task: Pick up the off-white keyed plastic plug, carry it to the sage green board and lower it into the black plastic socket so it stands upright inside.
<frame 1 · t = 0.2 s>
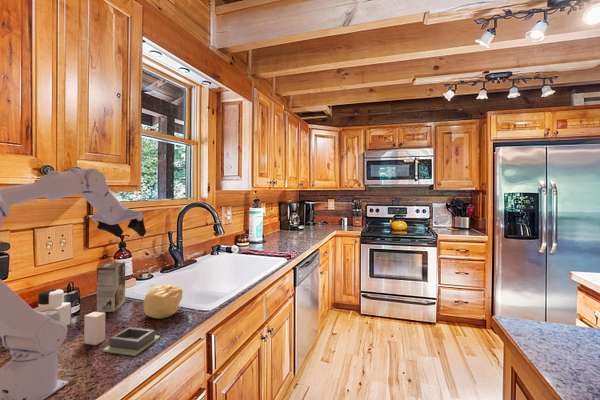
hand: (132, 234, 89), 31 cm above the counter, tool tilted 45°, fingers open, 7 cm apart
energy drink: (46, 359, 75), on the counter
keyed plug: (93, 341, 84), on the counter
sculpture: (162, 315, 103), on the counter
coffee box: (111, 307, 109), on the counter
white stepped block: (51, 329, 91), on the counter
socket board: (132, 344, 83), on the counter
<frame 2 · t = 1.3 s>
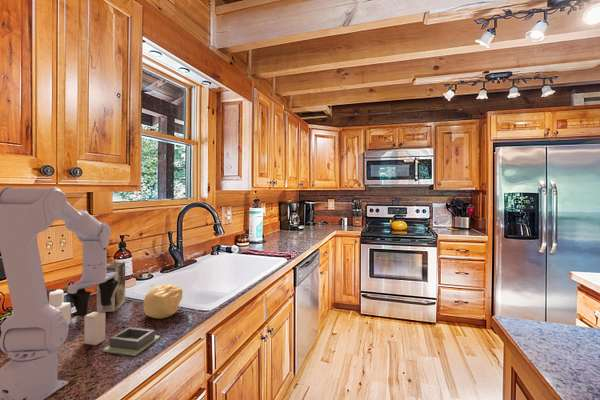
hand: (94, 310, 84), 9 cm above the counter, tool pointing down, fingers open, 7 cm apart
nothing on the counter moved.
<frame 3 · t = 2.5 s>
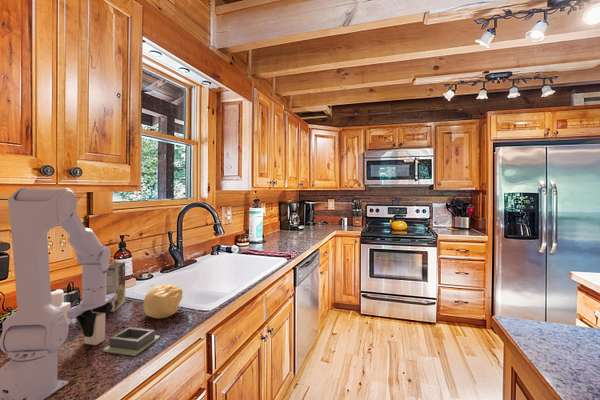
hand: (94, 333, 84), 2 cm above the counter, tool pointing down, fingers closed on keyed plug, 3 cm apart
keyed plug: (93, 341, 84), on the counter, touching gripper
everything else where it was.
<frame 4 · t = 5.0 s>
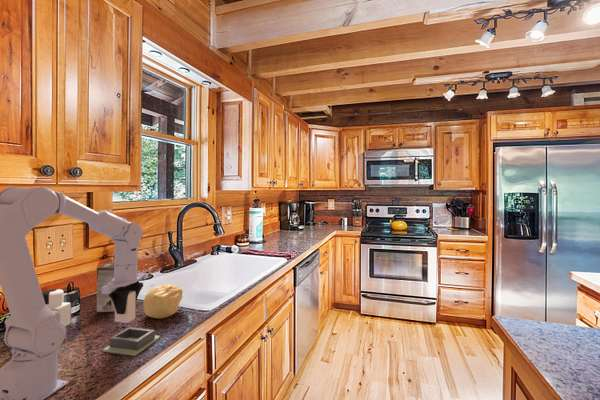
hand: (125, 311, 83), 9 cm above the counter, tool pointing down, fingers closed on keyed plug, 3 cm apart
keyed plug: (124, 320, 83), point 7 cm above the counter, touching gripper
everything else where it was.
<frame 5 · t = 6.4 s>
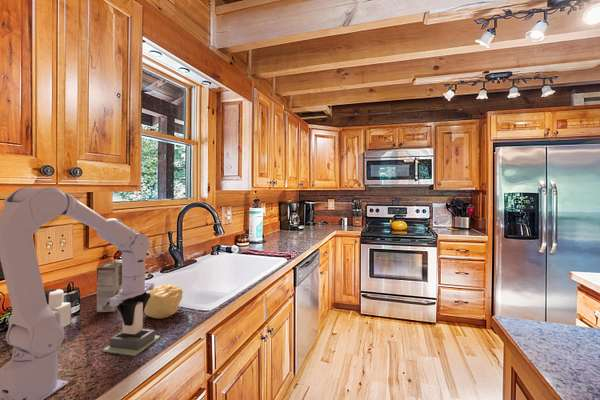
hand: (133, 322, 83), 6 cm above the counter, tool pointing down, fingers closed on keyed plug, 3 cm apart
keyed plug: (131, 331, 83), point 4 cm above the counter, touching gripper
everything else where it was.
when the fingers open (4 cm above the counter, at t = 7.6 s): keyed plug stays where it is, resting on socket board.
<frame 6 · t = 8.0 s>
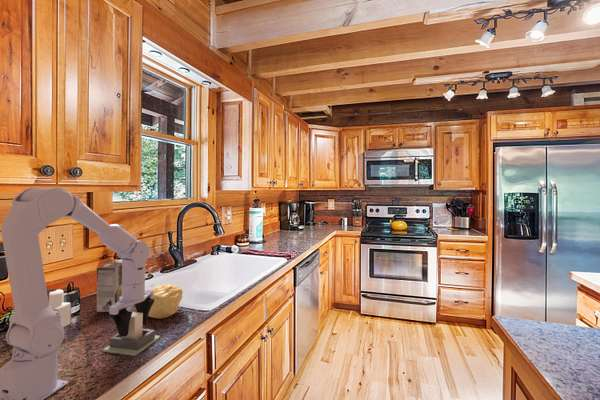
hand: (133, 329, 83), 4 cm above the counter, tool pointing down, fingers open, 6 cm apart
keyed plug: (131, 342, 83), point 1 cm above the counter, touching socket board
everything else where it was.
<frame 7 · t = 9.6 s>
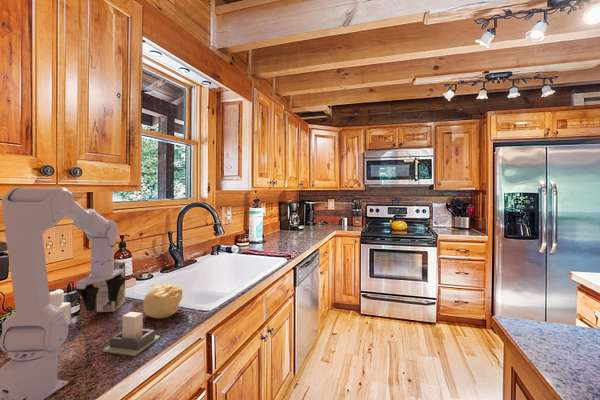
hand: (102, 305, 86), 9 cm above the counter, tool pointing down, fingers open, 7 cm apart
nothing on the counter moved.
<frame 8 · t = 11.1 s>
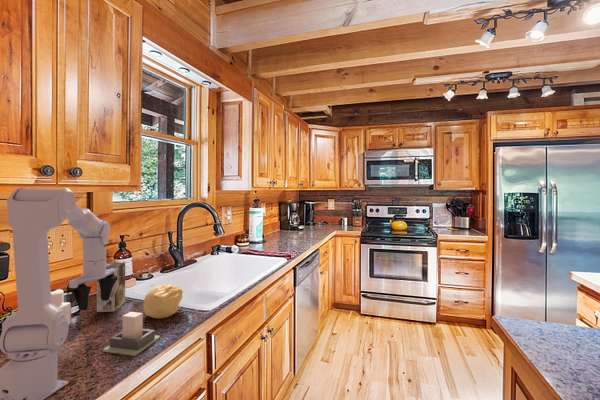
hand: (94, 304, 87), 9 cm above the counter, tool pointing down, fingers open, 7 cm apart
nothing on the counter moved.
at the end: keyed plug 0.4 cm off-centre on the socket board, point 0.6 cm above the socket board's base; keyed plug tilted 0°; the gripper is holding nothing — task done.
